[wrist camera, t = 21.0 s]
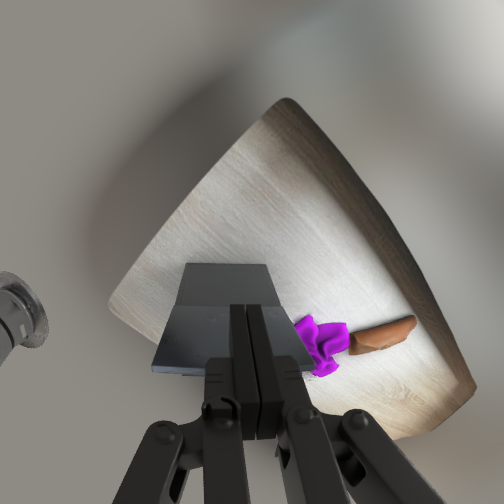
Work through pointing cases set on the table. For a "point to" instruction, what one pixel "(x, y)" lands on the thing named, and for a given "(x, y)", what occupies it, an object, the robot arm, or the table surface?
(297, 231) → the table surface
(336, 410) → the table surface
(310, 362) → the lid
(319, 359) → the cloth
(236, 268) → the dark grey open box
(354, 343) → the sunglasses case
